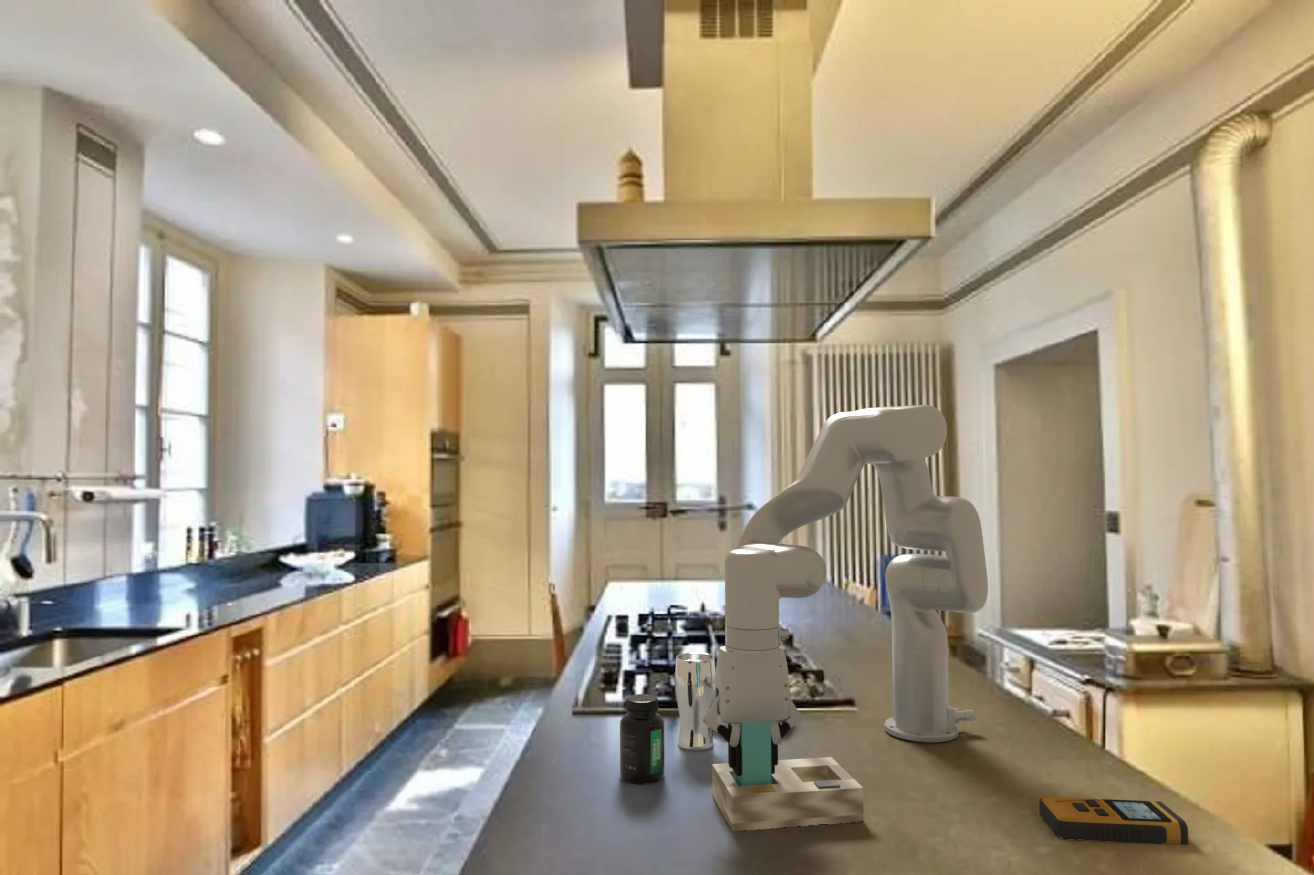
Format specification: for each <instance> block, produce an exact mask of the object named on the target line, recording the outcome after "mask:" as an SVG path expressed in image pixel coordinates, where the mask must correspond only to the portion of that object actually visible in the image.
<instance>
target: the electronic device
mask: <svg viewBox="0 0 1314 875" xmlns="http://www.w3.org/2000/svg"><path fill="white" fill-rule="evenodd" d="M1038 803H1039V809H1038V810H1039V815H1040V818H1041V817H1042V818H1043V819H1042V818H1041V819H1042V820H1043V822H1044V821H1045V822H1046V823H1047V824H1048V825H1047V824H1046V823H1045V822H1044V823H1045V824H1046V825H1047V826H1048V828H1049V827H1050V828H1051V829H1052V830H1051V829H1050V828H1049V829H1050V830H1051V831H1052V833H1053V832H1054V833H1053V834H1054V835H1055V836H1056V835H1057V836H1058V837H1061V838H1064V839H1063V840H1066V839H1075V840H1074V841H1085V840H1092V841H1093V842H1107V841H1111V843H1134V844H1150V845H1151V844H1155V845H1161V844H1162V845H1163V844H1167V845H1184V846H1187V845H1188V844H1189V828H1188V825H1187V822H1186V821H1185V820H1184V819H1183V818H1182V817H1181V816H1179V815H1178V814H1177V813H1176V812H1174V811H1173V810H1172V809H1171V808H1169V807H1168V806H1167V805H1166V804H1164V803H1163V802H1162V801H1155V800H1153V801H1152V800H1151V801H1150V800H1134V799H1132V800H1131V799H1130V800H1129V799H1111V798H1109V799H1108V798H1106V799H1105V798H1090V797H1089V798H1085V797H1084V798H1083V797H1062V796H1061V797H1060V796H1059V797H1058V796H1045V797H1041V798H1039V802H1038ZM1057 836H1056V837H1057ZM1058 837H1057V838H1058ZM1061 838H1060V839H1061ZM1076 839H1077V840H1076ZM1079 839H1081V840H1079ZM1082 839H1083V840H1082ZM1094 840H1096V841H1094ZM1097 840H1098V841H1097ZM1092 841H1091V842H1092ZM1112 841H1113V842H1112Z"/></svg>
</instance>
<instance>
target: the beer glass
mask: <svg viewBox="0 0 1314 875" xmlns="http://www.w3.org/2000/svg"><path fill="white" fill-rule="evenodd" d="M675 657H676V660H675V672H674V674H675V675H674V677H675V678H674V685H675V687H674V688H675V696H676V702H677V703H676V704H677V708H678V715H679V722H680V723H679V724H680V725H679V734H678V738H677V739H678V740H677V745H678V747H679V748H680V749H683V750H686V751H693V752H697V751H706V750H710V749H711V748H713V747H714V737H713V732H712V729H711V728H709V727H708V726H706V725H705V723H704V722H703V719H704V717H705V715H706V713H707V712H708V710H709V709H710V707H711V705H712V704H713V702H714V690H715V675H716V663H715V656H714V655H713V654H710V653H705V652H685V653H679V654H677V655H676V656H675Z"/></svg>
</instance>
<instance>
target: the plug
mask: <svg viewBox="0 0 1314 875" xmlns="http://www.w3.org/2000/svg"><path fill="white" fill-rule="evenodd" d="M739 741H740V746H741V748H742V775H741V776H737V775H736V783H737V784H738V786H749V785H761V784H771V721H763V722H742V724H741V730H740V736H739Z"/></svg>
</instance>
